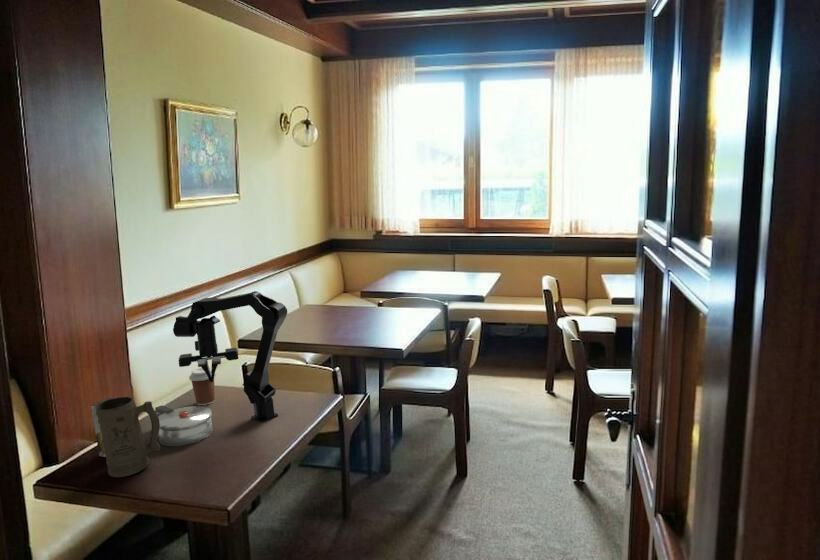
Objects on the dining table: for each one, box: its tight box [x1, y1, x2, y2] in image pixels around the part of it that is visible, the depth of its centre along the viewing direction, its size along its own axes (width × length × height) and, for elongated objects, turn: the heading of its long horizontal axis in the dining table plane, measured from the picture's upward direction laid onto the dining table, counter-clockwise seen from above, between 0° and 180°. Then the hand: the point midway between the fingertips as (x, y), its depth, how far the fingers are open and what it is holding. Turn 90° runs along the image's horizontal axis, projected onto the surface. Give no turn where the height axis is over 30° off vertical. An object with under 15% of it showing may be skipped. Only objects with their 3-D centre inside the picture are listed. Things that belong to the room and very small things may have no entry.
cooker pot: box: [157, 413, 214, 447], centre depth 203 cm, size 22×16×5 cm
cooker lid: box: [154, 404, 213, 430], centre depth 202 cm, size 23×17×2 cm
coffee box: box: [90, 397, 114, 458], centre depth 189 cm, size 9×6×16 cm
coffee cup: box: [188, 367, 217, 406], centre depth 230 cm, size 9×9×12 cm
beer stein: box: [96, 396, 161, 478], centre depth 179 cm, size 15×11×20 cm
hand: (211, 381), depth 215 cm, fingers closed
